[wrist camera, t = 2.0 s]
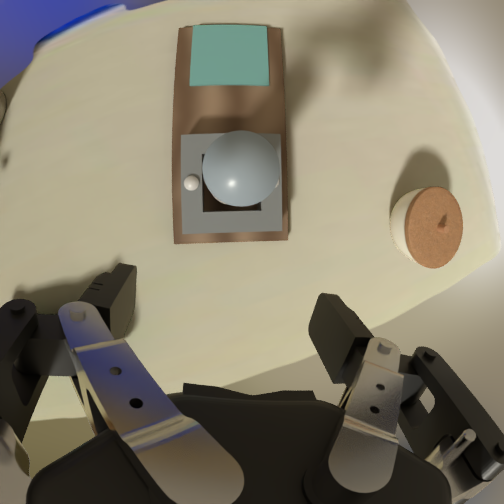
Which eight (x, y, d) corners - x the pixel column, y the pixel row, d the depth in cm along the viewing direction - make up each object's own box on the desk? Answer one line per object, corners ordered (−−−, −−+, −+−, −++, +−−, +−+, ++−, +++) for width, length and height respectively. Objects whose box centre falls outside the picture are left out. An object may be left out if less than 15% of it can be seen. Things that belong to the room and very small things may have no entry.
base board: (175, 242, 36) (174, 244, 35) (179, 32, 31) (178, 28, 30) (285, 239, 38) (287, 240, 37) (278, 32, 33) (280, 28, 32)
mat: (189, 86, 32) (189, 85, 32) (193, 27, 30) (193, 25, 30) (268, 86, 33) (269, 85, 33) (266, 27, 31) (266, 26, 31)
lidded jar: (399, 173, 38) (440, 168, 29) (439, 216, 40) (480, 220, 31) (364, 231, 39) (402, 239, 30) (409, 271, 41) (447, 286, 32)
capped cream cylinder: (208, 206, 35) (202, 207, 19) (208, 163, 34) (202, 131, 18) (252, 205, 35) (280, 205, 20) (251, 162, 35) (279, 131, 19)
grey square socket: (185, 231, 35) (182, 234, 31) (184, 141, 33) (180, 134, 29) (276, 228, 36) (282, 231, 32) (274, 140, 34) (280, 133, 31)
